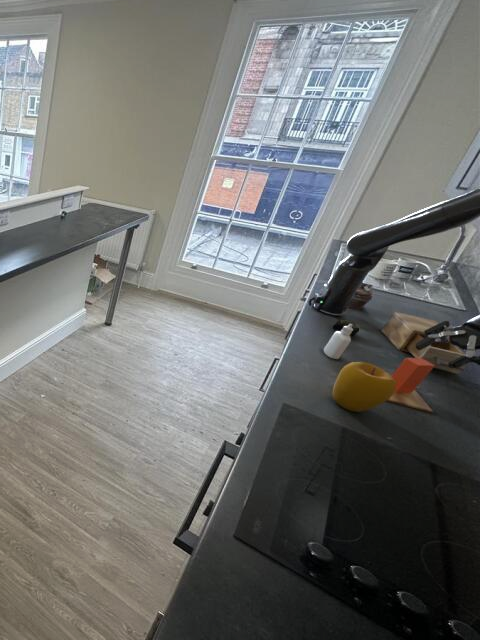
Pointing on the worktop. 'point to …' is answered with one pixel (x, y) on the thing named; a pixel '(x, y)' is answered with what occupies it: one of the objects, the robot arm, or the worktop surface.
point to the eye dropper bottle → (338, 342)
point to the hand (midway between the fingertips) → (433, 356)
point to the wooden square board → (410, 400)
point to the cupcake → (361, 296)
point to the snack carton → (411, 374)
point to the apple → (362, 387)
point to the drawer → (436, 353)
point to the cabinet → (405, 328)
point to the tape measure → (342, 323)
